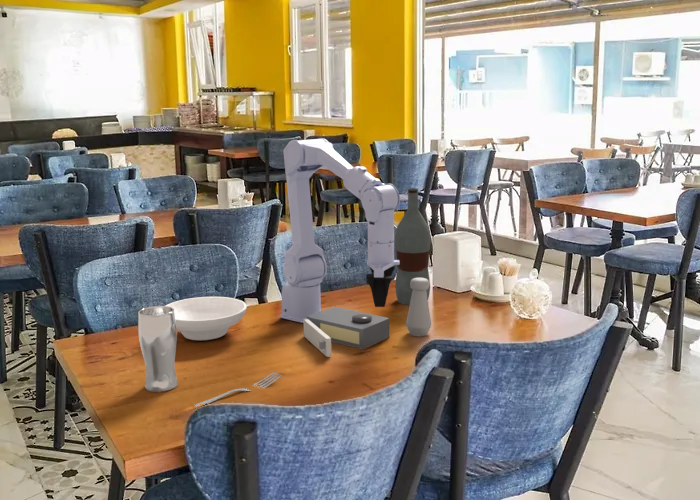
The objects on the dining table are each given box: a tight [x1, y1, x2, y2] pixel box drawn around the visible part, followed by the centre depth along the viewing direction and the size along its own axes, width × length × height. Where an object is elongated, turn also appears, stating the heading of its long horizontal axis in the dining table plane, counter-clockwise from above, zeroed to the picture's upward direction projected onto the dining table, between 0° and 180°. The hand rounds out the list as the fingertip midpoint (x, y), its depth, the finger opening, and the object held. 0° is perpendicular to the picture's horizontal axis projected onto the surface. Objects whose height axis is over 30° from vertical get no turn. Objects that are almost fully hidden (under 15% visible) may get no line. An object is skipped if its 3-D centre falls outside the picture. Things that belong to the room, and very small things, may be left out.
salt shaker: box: [405, 278, 432, 337], centre depth 169 cm, size 6×6×13 cm
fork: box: [194, 371, 282, 407], centre depth 136 cm, size 3×24×2 cm, turn 132°
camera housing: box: [307, 306, 390, 350], centre depth 168 cm, size 16×10×5 cm, turn 52°
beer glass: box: [137, 305, 179, 393], centre depth 140 cm, size 7×7×15 cm
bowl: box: [165, 296, 247, 341], centre depth 170 cm, size 20×20×7 cm
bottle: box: [394, 187, 431, 306], centre depth 194 cm, size 9×9×30 cm
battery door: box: [302, 318, 332, 358], centre depth 162 cm, size 16×2×4 cm, turn 22°
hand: (381, 301), depth 162 cm, fingers open, 7 cm apart
